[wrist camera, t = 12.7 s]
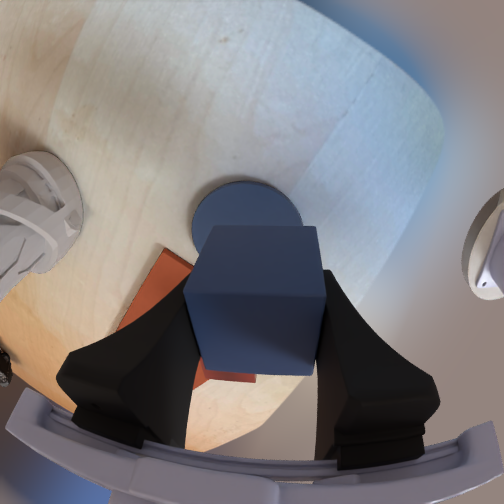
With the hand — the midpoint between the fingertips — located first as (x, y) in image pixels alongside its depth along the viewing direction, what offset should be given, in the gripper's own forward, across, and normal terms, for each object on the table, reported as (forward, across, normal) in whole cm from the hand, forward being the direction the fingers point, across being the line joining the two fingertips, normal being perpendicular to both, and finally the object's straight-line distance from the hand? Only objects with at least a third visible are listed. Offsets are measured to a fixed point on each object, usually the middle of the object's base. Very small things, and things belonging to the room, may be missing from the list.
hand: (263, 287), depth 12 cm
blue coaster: (+8, +2, +2) cm, 9 cm away
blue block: (+1, 0, 0) cm, 1 cm away
